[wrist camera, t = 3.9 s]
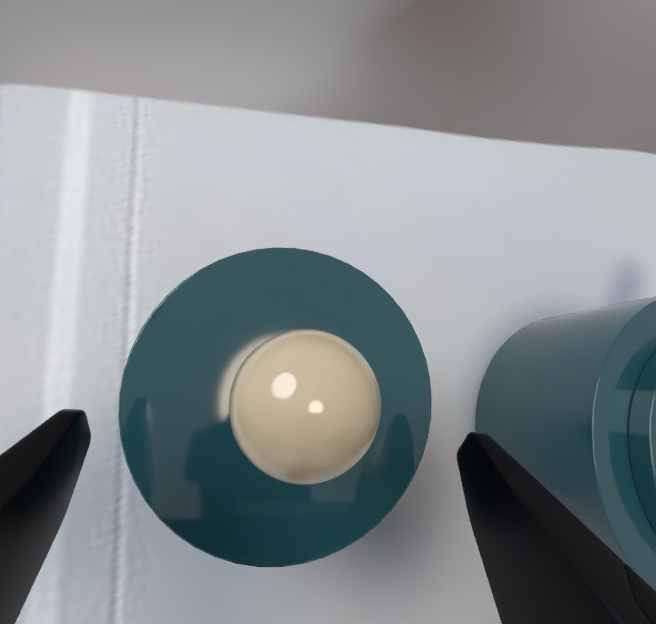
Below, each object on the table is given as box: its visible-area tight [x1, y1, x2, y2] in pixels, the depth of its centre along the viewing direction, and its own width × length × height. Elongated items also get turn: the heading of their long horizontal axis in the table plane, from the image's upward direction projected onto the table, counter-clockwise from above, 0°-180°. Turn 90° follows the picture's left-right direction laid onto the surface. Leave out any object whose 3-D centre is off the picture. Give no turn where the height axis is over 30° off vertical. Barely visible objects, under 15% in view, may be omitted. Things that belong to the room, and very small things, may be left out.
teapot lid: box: [119, 248, 431, 567], centre depth 9 cm, size 9×9×6 cm
